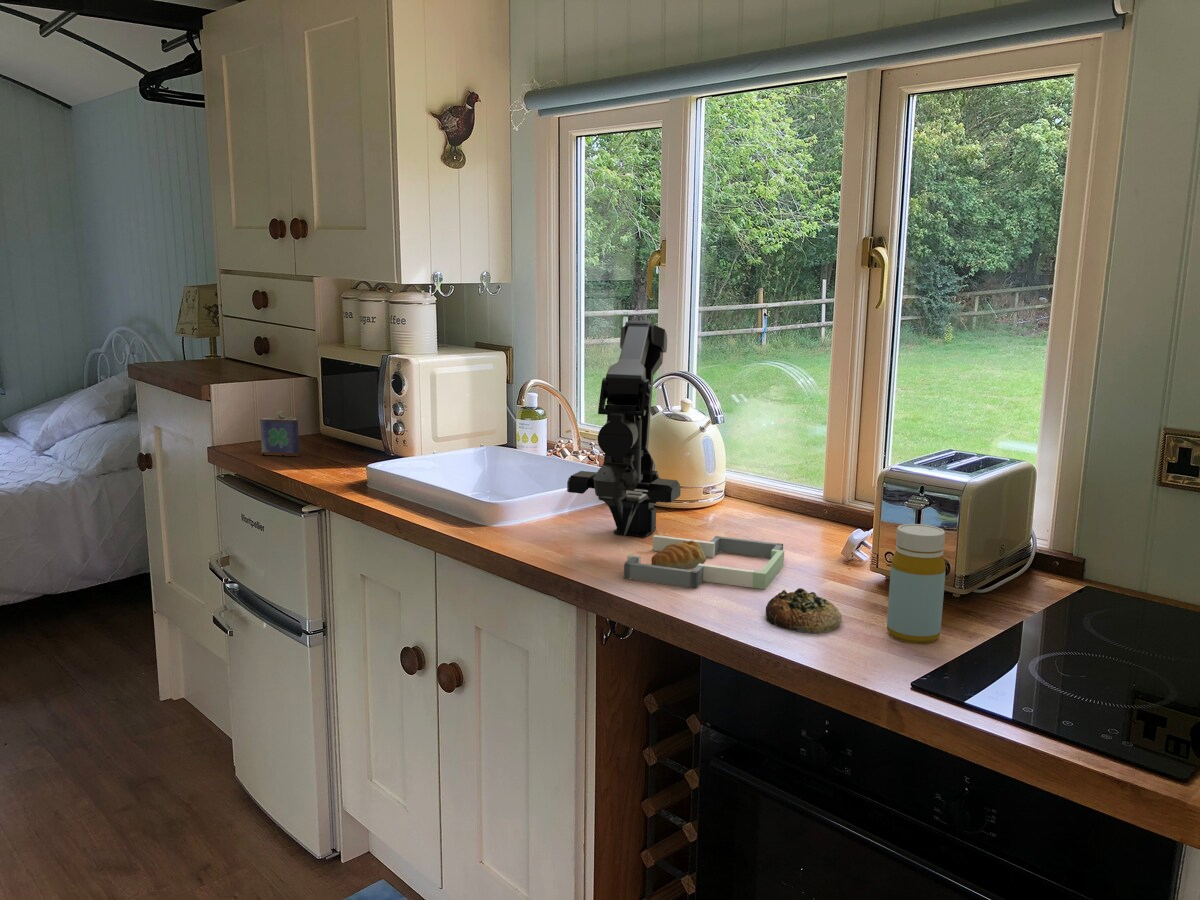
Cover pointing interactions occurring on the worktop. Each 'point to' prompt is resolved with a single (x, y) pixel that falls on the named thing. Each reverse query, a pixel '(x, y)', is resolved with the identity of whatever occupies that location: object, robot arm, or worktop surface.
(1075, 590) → the worktop surface
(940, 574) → the bottle
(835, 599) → the worktop surface
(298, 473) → the worktop surface
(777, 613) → the bread roll
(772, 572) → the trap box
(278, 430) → the flask
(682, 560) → the pastry
